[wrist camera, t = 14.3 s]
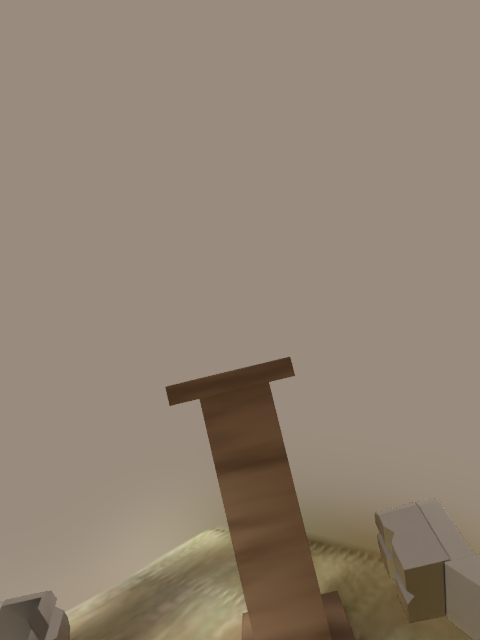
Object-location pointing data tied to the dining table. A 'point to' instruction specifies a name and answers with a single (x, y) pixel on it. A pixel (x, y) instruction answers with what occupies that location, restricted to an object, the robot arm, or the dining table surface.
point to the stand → (263, 506)
